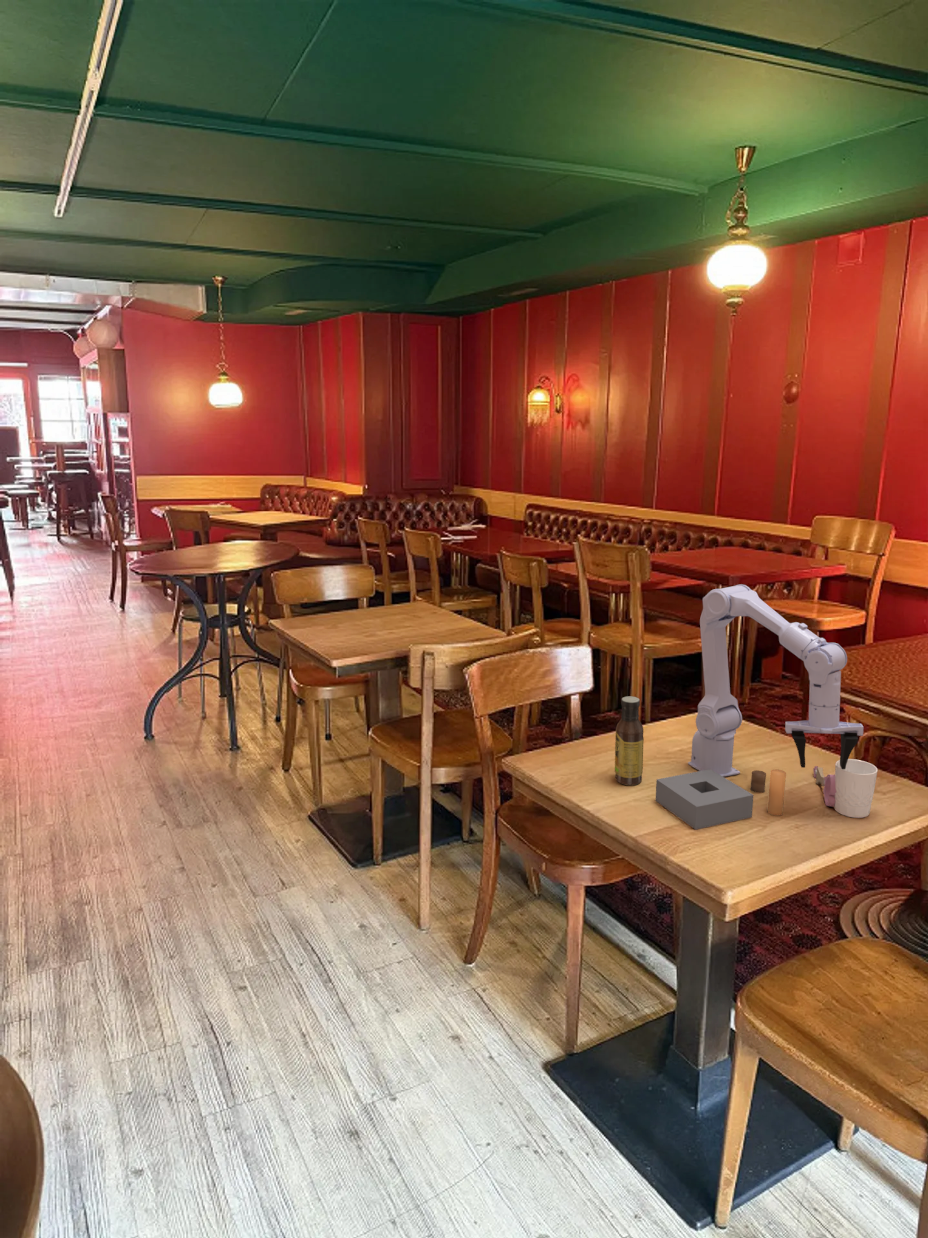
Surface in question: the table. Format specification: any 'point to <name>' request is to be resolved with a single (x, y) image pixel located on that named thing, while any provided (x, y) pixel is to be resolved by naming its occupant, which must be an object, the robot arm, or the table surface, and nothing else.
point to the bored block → (704, 798)
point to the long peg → (776, 792)
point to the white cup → (854, 788)
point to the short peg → (758, 781)
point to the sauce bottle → (629, 743)
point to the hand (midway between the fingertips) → (822, 766)
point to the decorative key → (826, 785)
